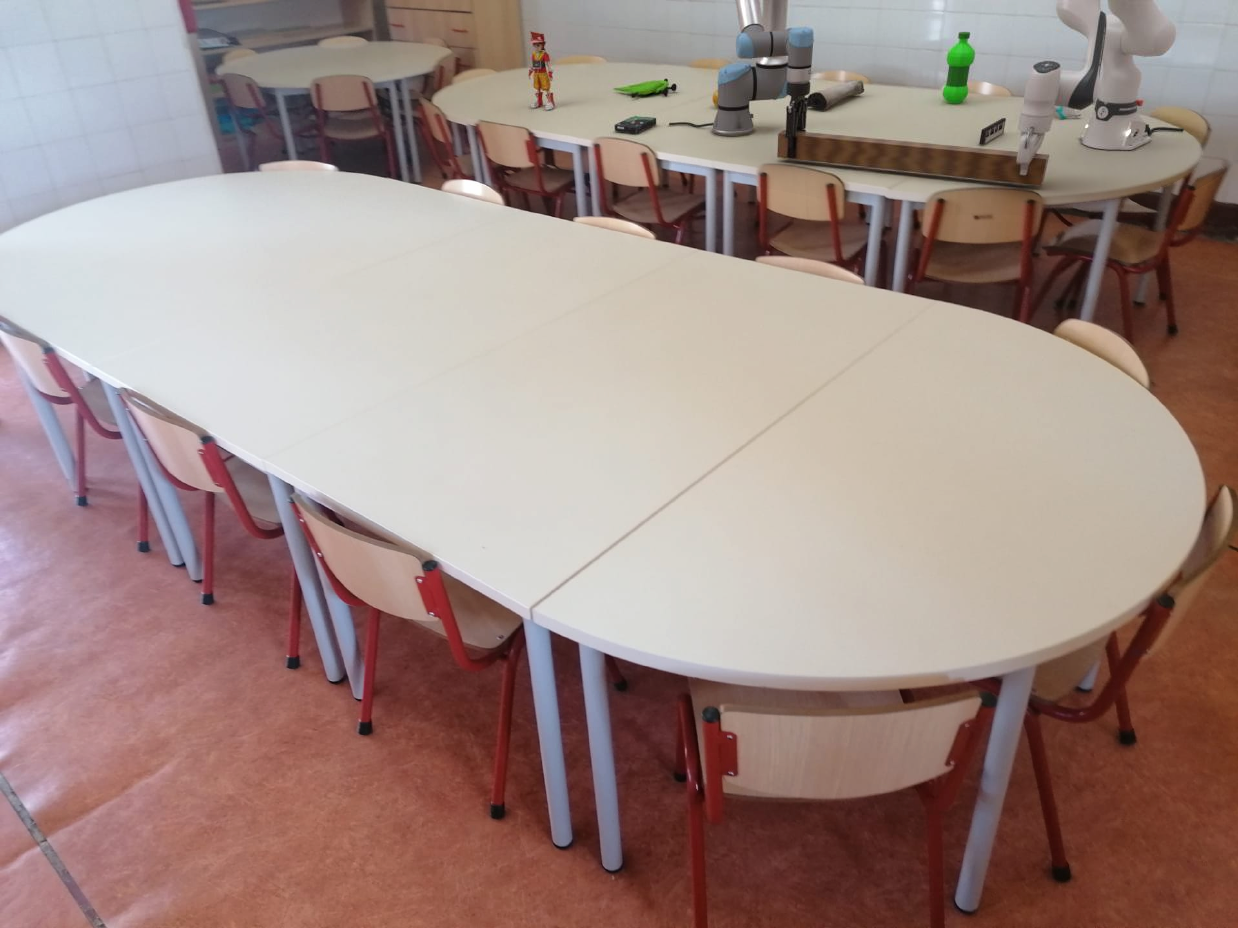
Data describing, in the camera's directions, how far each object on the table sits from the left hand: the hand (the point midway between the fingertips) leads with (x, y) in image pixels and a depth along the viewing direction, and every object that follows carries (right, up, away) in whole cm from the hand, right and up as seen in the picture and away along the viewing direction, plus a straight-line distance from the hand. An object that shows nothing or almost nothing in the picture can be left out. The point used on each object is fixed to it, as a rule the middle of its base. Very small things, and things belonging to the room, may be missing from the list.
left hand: (794, 155), depth 300 cm
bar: (+31, -10, -16) cm, 36 cm away
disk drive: (-52, +26, +47) cm, 75 cm away
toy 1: (-91, +49, +83) cm, 133 cm away
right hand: (+62, -16, -33) cm, 73 cm away
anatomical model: (+104, +26, +32) cm, 112 cm away
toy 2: (-49, +61, +97) cm, 125 cm away
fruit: (-16, +43, +67) cm, 81 cm away
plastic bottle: (+74, +40, +55) cm, 100 cm away
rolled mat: (+29, +43, +64) cm, 82 cm away
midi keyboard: (+71, +9, +11) cm, 72 cm away
